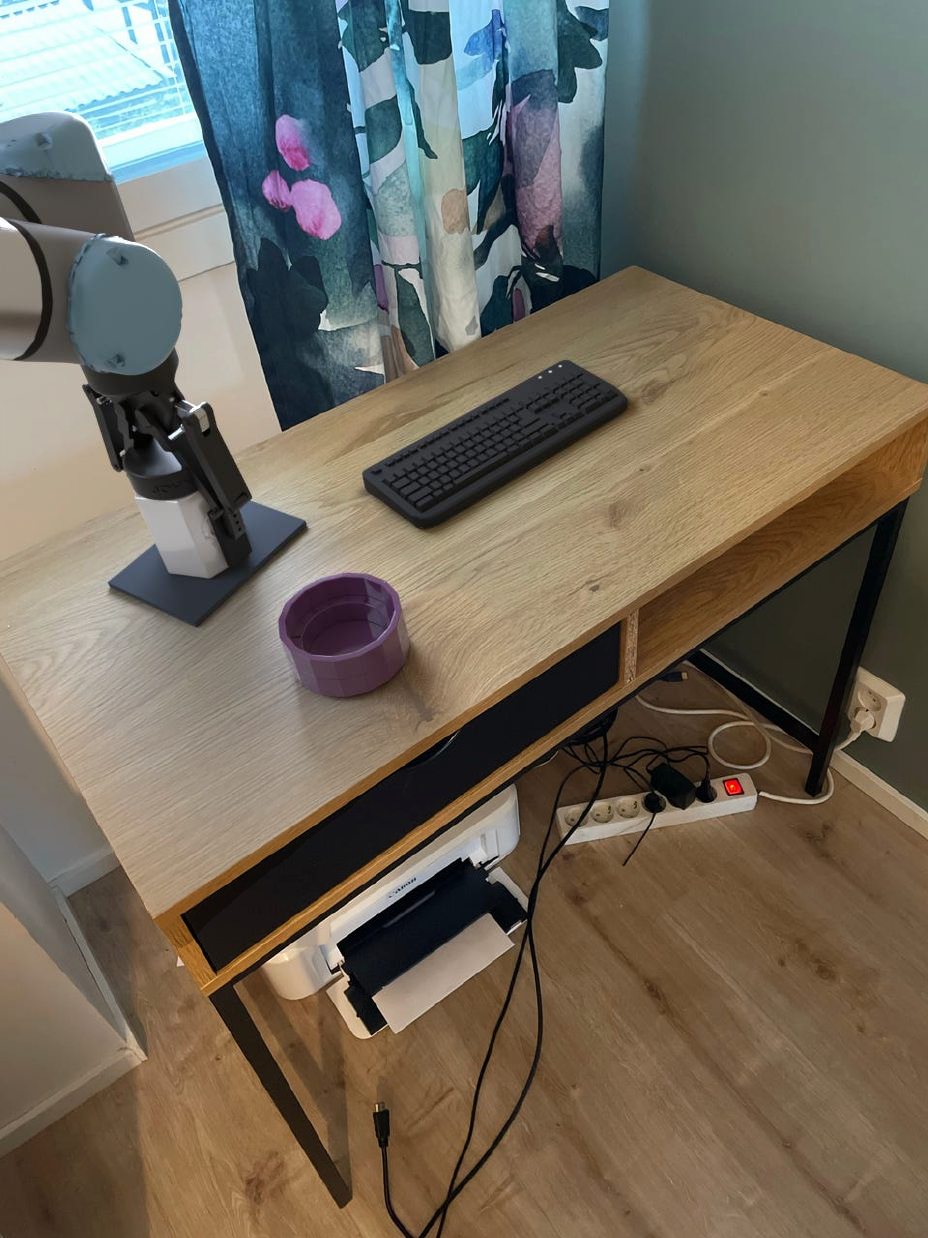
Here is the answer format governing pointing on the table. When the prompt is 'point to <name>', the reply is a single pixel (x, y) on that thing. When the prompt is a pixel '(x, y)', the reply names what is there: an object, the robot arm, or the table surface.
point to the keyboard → (493, 444)
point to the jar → (174, 511)
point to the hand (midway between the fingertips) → (205, 544)
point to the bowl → (344, 634)
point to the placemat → (204, 595)
